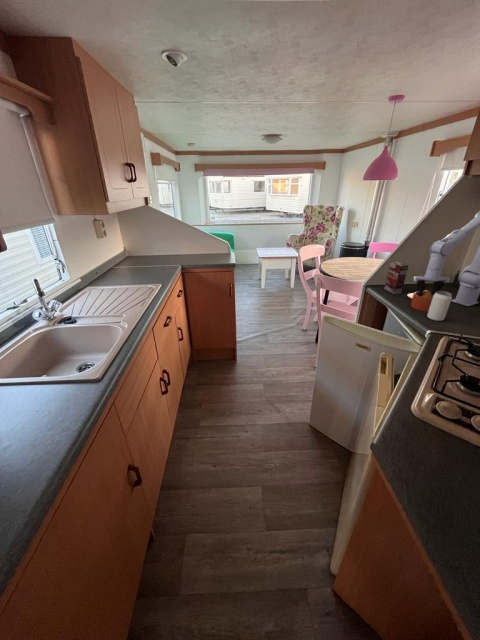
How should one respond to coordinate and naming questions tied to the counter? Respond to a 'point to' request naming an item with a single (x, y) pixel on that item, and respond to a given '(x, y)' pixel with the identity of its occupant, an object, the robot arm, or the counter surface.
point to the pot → (420, 302)
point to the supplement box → (396, 277)
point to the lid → (410, 295)
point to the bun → (427, 294)
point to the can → (439, 305)
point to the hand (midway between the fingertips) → (426, 296)
